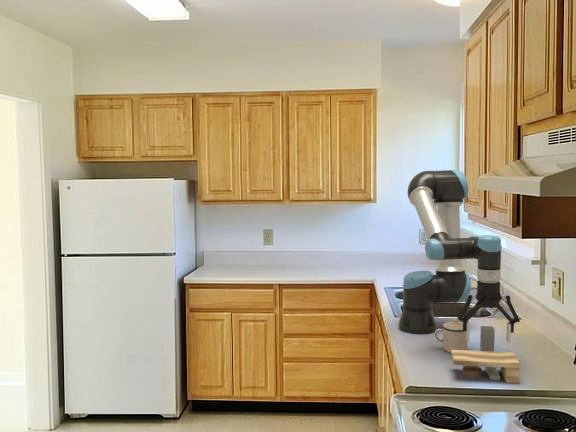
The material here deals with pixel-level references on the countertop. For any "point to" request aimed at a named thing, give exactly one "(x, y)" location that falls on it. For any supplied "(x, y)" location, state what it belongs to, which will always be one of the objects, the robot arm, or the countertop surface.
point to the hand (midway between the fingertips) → (487, 341)
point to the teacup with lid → (453, 336)
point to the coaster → (472, 371)
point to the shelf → (490, 362)
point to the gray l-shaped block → (489, 348)
